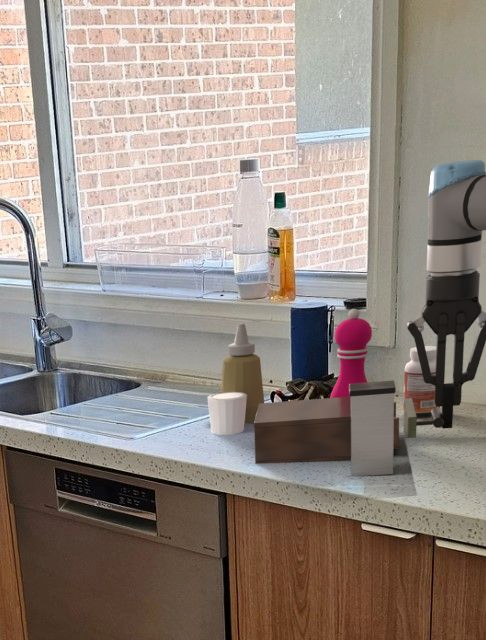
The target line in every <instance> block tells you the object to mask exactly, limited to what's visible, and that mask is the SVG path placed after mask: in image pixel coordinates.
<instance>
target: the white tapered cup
mask: <svg viewBox="0 0 486 640" xmlns="http://www.w3.org/2000/svg"><path fill="white" fill-rule="evenodd" d="M246 399H247V395H246V394H245V393H241V392H223V393H220V392H217V393H213V394H210V395H208V396H207V405H208V406H207V407H208V415H209V423H210V432H211V434H212V435H218V436H231V435H237V434H241V433H243V432H245V424H244V422H245V411H246Z"/></svg>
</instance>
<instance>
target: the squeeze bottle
mask: <svg viewBox="0 0 486 640" xmlns="http://www.w3.org/2000/svg"><path fill="white" fill-rule="evenodd" d="M246 327H247V326H246V323H245V322H240V323H237V327H236V333H235V336H234V337H235V338H234V341H233V343H230V344H229V345H227V347H228V351H227V353H228V355H227V356H226V357H225V358H224V359H223V361H222V370H221V371H222V372H221V383H220V392H219V393H223V392H241V393H245V394H246V395H247V399H246V411H245V422H244V425H249V424H254V422H255V418H256V414H257V410H258V406H259V403H265V395H264V394H265V393H264V385H263V374H262V364H261V357H259V356H258V355H257V354H255V352H256V350H255V349H256V344H255V342H251V341H250V340H249V335H248V332H247V328H246Z"/></svg>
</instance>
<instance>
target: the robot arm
mask: <svg viewBox="0 0 486 640" xmlns="http://www.w3.org/2000/svg"><path fill="white" fill-rule="evenodd" d="M427 200H428V206H427V207H428V219H427V220H428V221H427V222H428V225H427V228H428V229H427V247H426V249H427V250H426V271H427V272H428V273H430V274H428V275H427V277H426V278H425V304H424V306H423V308H422V309H421V314H420V315H419V316H417V317H416V318H415V319H413V320H409V321H408V322H407V323H406V327H407V330H408V332H409V333H410V335H411V336H412V337H413V339H414V345H415V347H416V348H417V353H418V357H419V361H420V366H421V370H422V374H423V379H424V382H425V383H427V384H428V383H429V384H432V385H434V386H435V405H436V407H440V408H441V414H442V417H443V420H444V424H443V426H442V427H441V429H453V423H454V422H453V420H454V407H456V406H457V407H458V406H461V403H462V388H463V385H464V384H465V383H467V382H471V381H473V380H474V379H475V378H476V375H477V371H478V368H479V365H480V362H481V359H482V355H483V352H484V348H485V344H486V311H484V310H483V308H482V305H481V303H480V299H479V297H480V279H481V278H480V277H481V273H480V272H479V271H478V270H477V269H479V267H481V260H482V234H483V232H484V231H486V164H485V162H484V161H483V160H482V159H470V160H469V159H467V160H458V161H451V162H445V163H440V164H437V165H435V166H434V167H433V168H432V170H431V172H430V178H429V187H428V194H427ZM477 319H478V321H477V325H478V326H479V328H478V330H477V333H476V336H475V340H474V344H473V347H472V349H471V354H470V357H469V359H468V362H467V366H466V370H465V371H464V350H465V334H466V332H468V331H469V330H470V328H471V326H472V325H473V324H474V323H475V322H476V320H477ZM424 323H426V324H427V325H428V327H429V329H430V330H431V331H432V332H433V333H434V334H435V335H436V345H435V347H436V372H435V375H432V374H431V372H430V367H429V363H428V358H427V354H426V350H425V346H426V345H425V341H424V337H423V334H422V332H423V331H424V330H425V327H424ZM450 335H453V338H454V339H453V361H452V363H453V364H452V382H448V383H447V382H445V378H446V373H445V372H446V354H447V351H446V350H447V337H448V336H450ZM463 371H464V372H463Z"/></svg>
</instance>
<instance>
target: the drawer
mask: <svg viewBox="0 0 486 640" xmlns="http://www.w3.org/2000/svg"><path fill="white" fill-rule="evenodd" d="M420 417H421V418H422V417H430V418H431V420H430V419H429V420H418V418H420ZM443 424H444V420H443V417H442V410H441V408H440V409H438V408H433V409H432V410H431V411H430V412H419V413H415V409H414V405H413V401H412V398H409V399H404V412H403V434H404V439H417V426H418V427H419V426H420V427H421V426H432V425H433V427H434V428H436V429H437V428H438V429H440V428H442V426H443ZM399 448H400V417H399V416H397V401H394V447H393V450H394V449H399Z"/></svg>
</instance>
